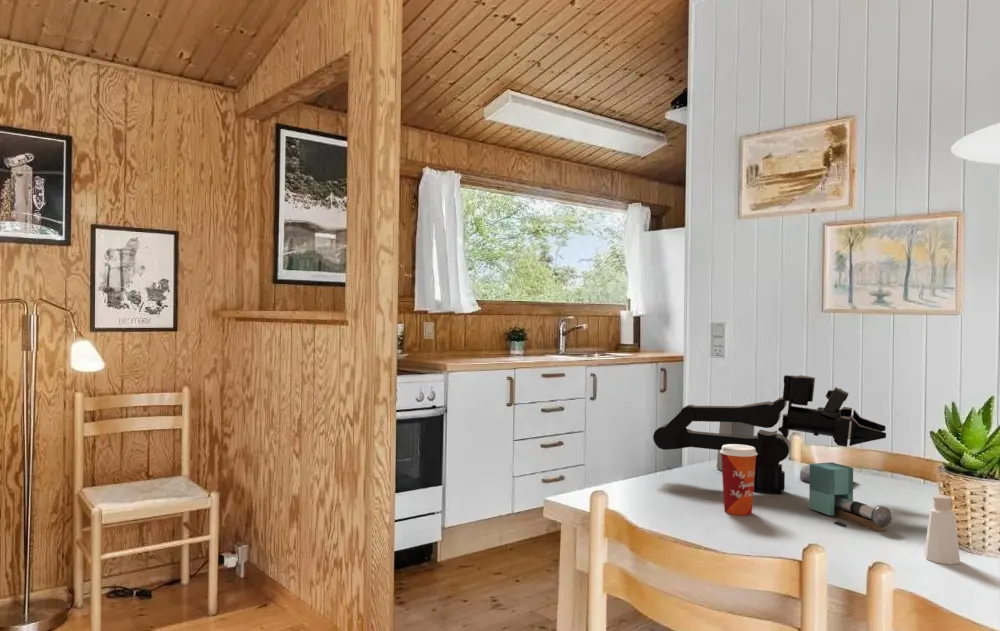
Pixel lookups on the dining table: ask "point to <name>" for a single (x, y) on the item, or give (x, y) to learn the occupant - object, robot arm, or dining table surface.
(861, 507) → the pipe rig
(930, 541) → the pepper shaker
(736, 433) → the skincare box
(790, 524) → the dining table surface
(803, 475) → the stone block
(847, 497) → the teal notched block
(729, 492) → the paper cup
